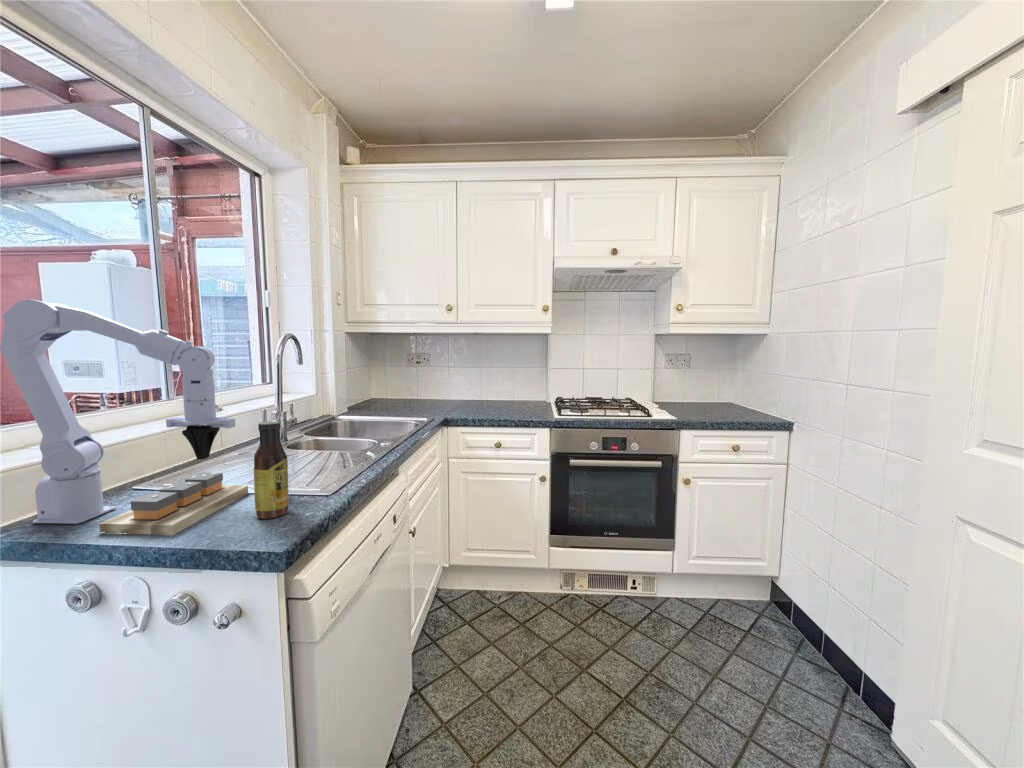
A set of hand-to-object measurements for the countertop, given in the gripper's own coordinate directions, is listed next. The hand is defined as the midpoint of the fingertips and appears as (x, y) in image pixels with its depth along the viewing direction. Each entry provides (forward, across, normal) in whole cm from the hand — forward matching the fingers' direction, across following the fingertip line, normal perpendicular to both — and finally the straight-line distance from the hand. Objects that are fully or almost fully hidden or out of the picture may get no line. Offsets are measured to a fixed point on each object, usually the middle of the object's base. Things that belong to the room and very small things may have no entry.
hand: (203, 458), depth 95 cm
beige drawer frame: (+10, 0, -6) cm, 12 cm away
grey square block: (+8, 0, -13) cm, 15 cm away
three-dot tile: (+8, 0, 0) cm, 8 cm away
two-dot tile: (+8, 0, -7) cm, 10 cm away
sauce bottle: (+10, +20, -7) cm, 23 cm away
